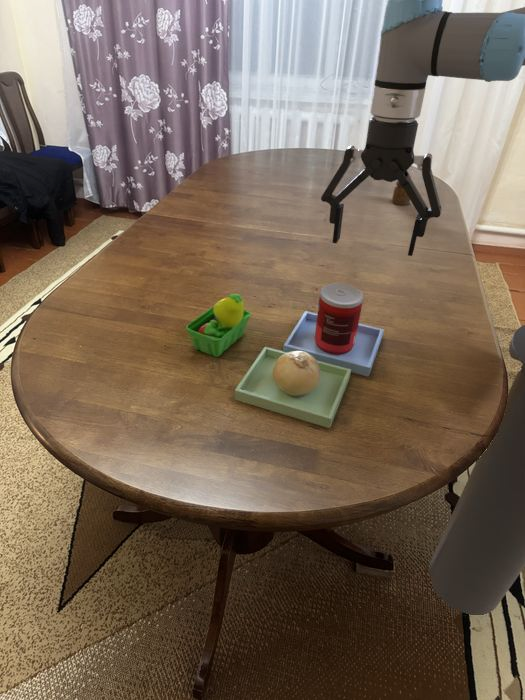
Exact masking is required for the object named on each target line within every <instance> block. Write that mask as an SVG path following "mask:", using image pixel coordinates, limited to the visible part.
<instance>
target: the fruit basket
mask: <svg viewBox="0 0 525 700" xmlns="http://www.w3.org/2000/svg"><path fill="white" fill-rule="evenodd" d="M251 315H252V314H251V312H250V311H249V310H244V302H243V297H242V296H241V295H240V294H238V293H231V294H229V295H228V297H225V298H222V299H220V300H218V301H217V302H216V303H215V304H214V305H213V306H212V307H211V308H209V309H208V310H206V311H205V312H203V313H202V314H200V315H199V316H198V317H197V318H195V319H193V320H192V321H191V322H190V323H189V324H187V325H186V326H185V329H186V331H187V333H188V335H189V336H190V340H191V342H192V344H193V346H194V349H195V350H197V351H201V352H202V353H205V354H207V355H209V356H213V357H215V358H218V357H220V356H221V355H222V354H223V352H225V351H227V350H228V349H229V348H230V346H232V345H233V344H235V343H236V342H237V340H238V339H241V337H242V336H243V335H244V332H245V329H246V327H247V323H248V322H249V319H250V317H251Z"/></svg>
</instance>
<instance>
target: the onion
mask: <svg viewBox="0 0 525 700" xmlns="http://www.w3.org/2000/svg"><path fill="white" fill-rule="evenodd" d="M273 379H274V382H275V384H276V385H277V386H278V387H279V388H280V389H281V390H283V391H284V392H285V393H287V394H289V395H292V396H299V395H304V394H308V393H310V392H311V391H312V390H313V389H315V388H316V386H317V385H318V382H319V379H320V367H319V364H318V362H317V361H316V359H315V358H314V357H312V356H311V355H310V354H308V353H307V352H303V351H292V352H289V353H286V354H284V355H282V356H281V357H279V359H278V360H277V361H276V363H275V365H274V368H273Z"/></svg>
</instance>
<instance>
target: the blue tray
mask: <svg viewBox="0 0 525 700" xmlns="http://www.w3.org/2000/svg"><path fill="white" fill-rule="evenodd" d="M317 314H318V313H316V312H315V313H314V312H311V311H306V310H305V311H304V312H303V314H302V316H301V317H300V318H299V321H298V322H297V323H296V325H295V327H294V328H293V330H292V331H291V333H290V334H289V336H288V338H287V339H286V341H285V342H284V344H283V347H282V351H283V352H287V353H289V352H292V351H303V352H307V353H308V354H310V355H311V356H312V357H314V358H315V359H316V360H317V361H321V362H325V363H329V364H332V365H336V366H340V367H344V368H347V369H351V373H352V374H355V375H360V376H363V377H367V378H369V377H370V374H371V371H372V368H373V366H374V361H375V360H376V357H377V354H378V350H379V347H380V345H381V343H382V340H383V336H384V331H385V329H384V328H379V327H375V326H371V325H366V324H361V323H359V324H358V329H357V334H356V339H355V344H354V346H353V348H352V350H351V351H350V352H348V353H345V354H341V355H334V354H329V353H326V352H324V351H322V350H321V349H319V348H318V346H317V345H316V342H315V331H316V322H317Z"/></svg>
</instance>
